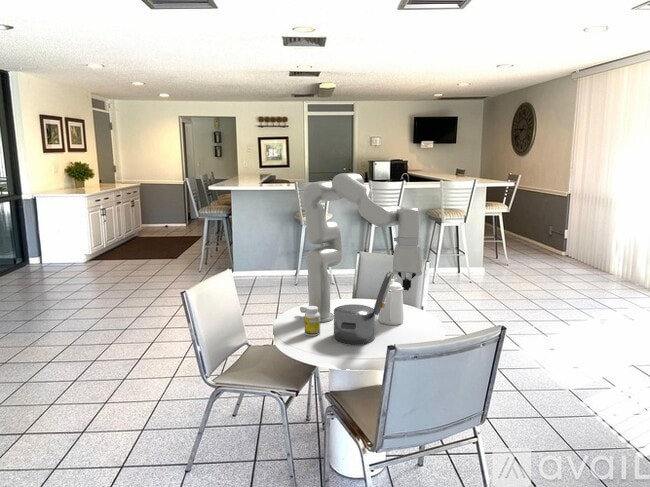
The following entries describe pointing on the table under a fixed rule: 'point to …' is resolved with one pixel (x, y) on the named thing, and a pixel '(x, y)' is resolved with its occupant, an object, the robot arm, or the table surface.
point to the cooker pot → (354, 324)
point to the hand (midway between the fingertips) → (406, 289)
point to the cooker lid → (382, 294)
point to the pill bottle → (312, 321)
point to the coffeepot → (392, 305)
